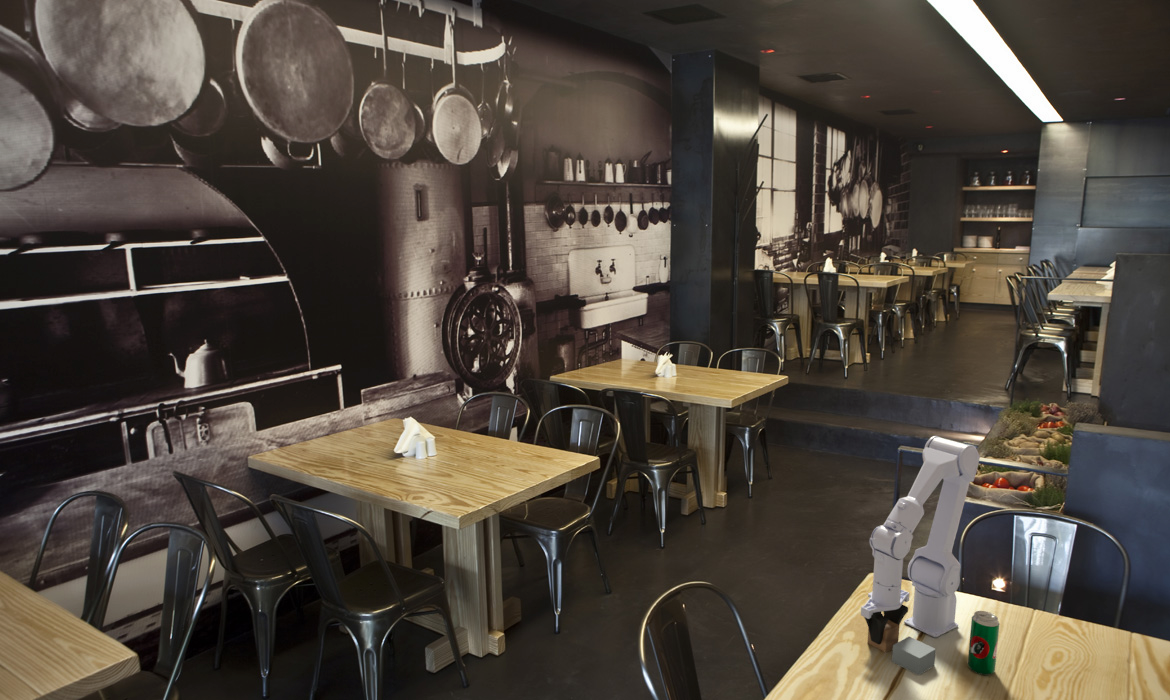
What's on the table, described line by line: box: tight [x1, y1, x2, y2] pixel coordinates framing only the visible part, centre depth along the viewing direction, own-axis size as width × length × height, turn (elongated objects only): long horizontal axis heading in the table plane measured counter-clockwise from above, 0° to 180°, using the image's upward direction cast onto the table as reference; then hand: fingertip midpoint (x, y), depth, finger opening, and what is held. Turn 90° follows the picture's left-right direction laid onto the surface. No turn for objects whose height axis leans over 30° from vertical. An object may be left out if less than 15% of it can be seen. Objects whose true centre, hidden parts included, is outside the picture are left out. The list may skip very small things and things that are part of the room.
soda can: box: [967, 610, 1000, 676], centre depth 154 cm, size 5×5×12 cm
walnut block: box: [867, 620, 900, 653], centre depth 163 cm, size 4×4×5 cm
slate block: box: [891, 636, 937, 676], centre depth 156 cm, size 6×6×4 cm
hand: (883, 638), depth 164 cm, fingers closed on walnut block, 4 cm apart
